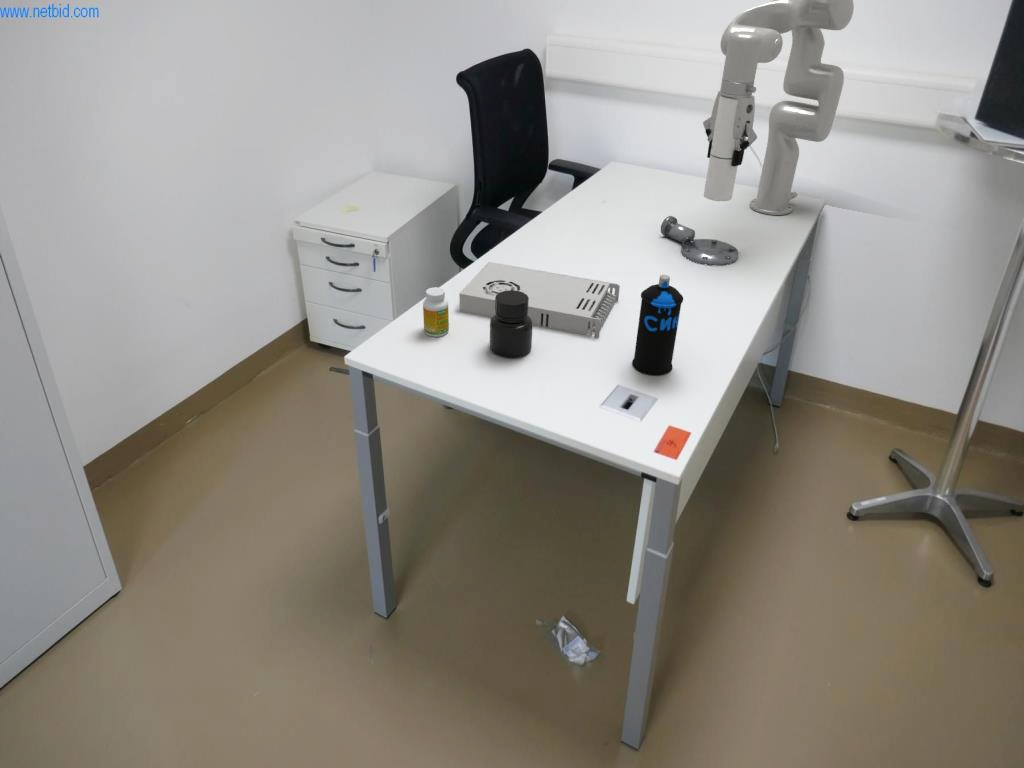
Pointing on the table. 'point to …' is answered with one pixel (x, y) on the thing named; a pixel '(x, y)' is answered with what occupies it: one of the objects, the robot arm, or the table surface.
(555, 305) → the power supply unit
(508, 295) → the ink bottle
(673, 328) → the aerosol can
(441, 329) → the supplement bottle
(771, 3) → the robot arm
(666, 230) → the flange fitting
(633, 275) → the table surface
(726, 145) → the cylindrical container
